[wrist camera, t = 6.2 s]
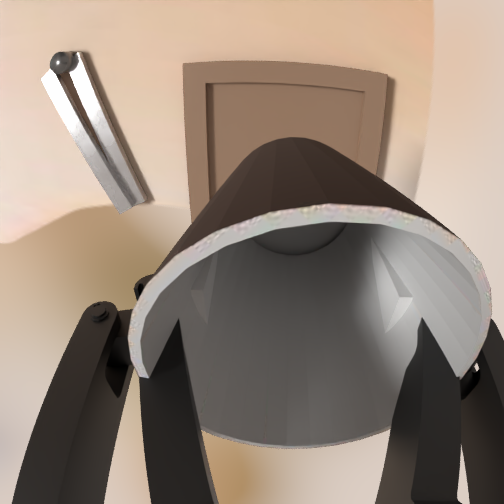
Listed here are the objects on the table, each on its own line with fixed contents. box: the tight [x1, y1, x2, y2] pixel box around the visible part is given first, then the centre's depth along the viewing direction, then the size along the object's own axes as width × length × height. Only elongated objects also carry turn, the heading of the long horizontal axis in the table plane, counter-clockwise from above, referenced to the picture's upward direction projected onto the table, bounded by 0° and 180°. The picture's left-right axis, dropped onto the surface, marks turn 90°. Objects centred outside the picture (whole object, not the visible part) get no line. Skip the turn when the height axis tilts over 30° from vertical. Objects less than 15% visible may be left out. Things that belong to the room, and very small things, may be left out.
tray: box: [183, 61, 388, 223], centre depth 28 cm, size 18×18×1 cm
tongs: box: [42, 52, 147, 214], centre depth 27 cm, size 19×5×2 cm, turn 19°
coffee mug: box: [128, 137, 492, 449], centre depth 12 cm, size 12×9×10 cm
